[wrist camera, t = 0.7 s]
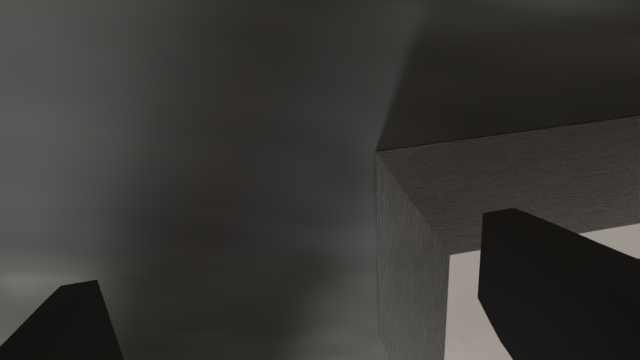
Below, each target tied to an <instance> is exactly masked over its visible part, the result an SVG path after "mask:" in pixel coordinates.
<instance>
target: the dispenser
mask: <svg viewBox="0 0 640 360" xmlns="http://www.w3.org/2000/svg"><path fill="white" fill-rule="evenodd" d="M376 206H377V259H378V312H379V335H380V338H381V340H382V342H383V345H384V347H385V350H386V352H387V355H388V357H389V359H390V360H513V359H512V358H511V356H510V355H509V353H508V352H507V350H506V349H505V348H504V346H503V345H502V343H501V342H500V340H499V338H498V336H497V334H496V332H495V331H494V329H493V327H492V325H491V323H490V321H489V319H488V317H487V315H486V313H485V311H484V309H483V307H482V305H481V303H480V302H479V300H478V298H477V297H478V282H479V266H480V251H481V235H482V220H483V213H485V212H491V211H497V210H503V209H509V208H515V209H518V210H521V211H524V212H526V213H529V214H532V215H534V216H537V217H539V218H542V219H544V220H547V221H549V222H551V223H554V224H556V225H559V226H561V227H563V228H565V229H568V230H570V231H572V232H575V233H577V234H579V235H582V236H584V237H587V238H589V239H591V240H594V241H596V242H598V243H601V244H603V245H605V246H608V247H610V248H613V249H615V250H617V251H620V252H622V253H625V254H627V255H630V256H632V257H635V258H637V259H640V116H635V117H627V118H620V119H613V120H605V121H598V122H591V123H583V124H576V125H568V126H561V127H554V128H546V129H539V130H532V131H524V132H517V133H510V134H502V135H495V136H488V137H480V138H473V139H466V140H458V141H451V142H444V143H436V144H429V145H422V146H414V147H407V148H400V149H392V150H385V151H377V152H376Z"/></svg>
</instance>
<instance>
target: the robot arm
mask: <svg viewBox="0 0 640 360" xmlns="http://www.w3.org/2000/svg"><path fill="white" fill-rule="evenodd" d="M477 298H478V300H479V302H480V303H481V305H482V307H483V309H484V311H485V313H486V315H487V317H488V319H489V321H490V323H491V325H492V327H493V329H494V331H495V332H496V334H497V336H498V338H499V340H500V342H501V343H502V345H503V346H504V348H505V349H506V350H507V352H508V353H509V355H510V356H511V358H512V359H513V360H640V259H637V258H635V257H632V256H630V255H627V254H625V253H622V252H620V251H617V250H615V249H613V248H610V247H608V246H605V245H603V244H601V243H598V242H596V241H594V240H591V239H589V238H587V237H584V236H582V235H579V234H577V233H575V232H572V231H570V230H568V229H565V228H563V227H561V226H559V225H556V224H554V223H551V222H549V221H547V220H544V219H542V218H539V217H537V216H534V215H532V214H529V213H526V212H524V211H521V210H518V209H515V208H509V209H503V210H497V211H491V212H485V213H483V220H482V235H481V251H480V266H479V282H478V297H477ZM0 360H124V359H123V356H122V353H121V350H120V347H119V344H118V341H117V338H116V335H115V332H114V329H113V326H112V323H111V320H110V317H109V314H108V311H107V308H106V305H105V302H104V299H103V296H102V293H101V290H100V287H99V284H98V281H97V280H93V281H87V282H81V283H75V284H70V285H64V286H60V287H59V288H58V289H57V290H56V291H55V292H54V293H53V294H52V295H51V296H50V297H49V298H48V299H47V300H46V301H45V302H44V303H43V304H42V305H41V306H40V307H39V308H38V309H37V310H36V311H35V312H34V313H33V314H32V315H31V316H30V317H29V318H28V319H27V320H26V321H25V322H24V323H23V324H22V325H21V326H20V327H19V328H18V329H17V330H16V331H15V332H14V333H13V334H12V335H11V336H10V337H9V338H8V339H7V340H6V341H5V342H4V343H3V344H2V345H1V346H0Z"/></svg>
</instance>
